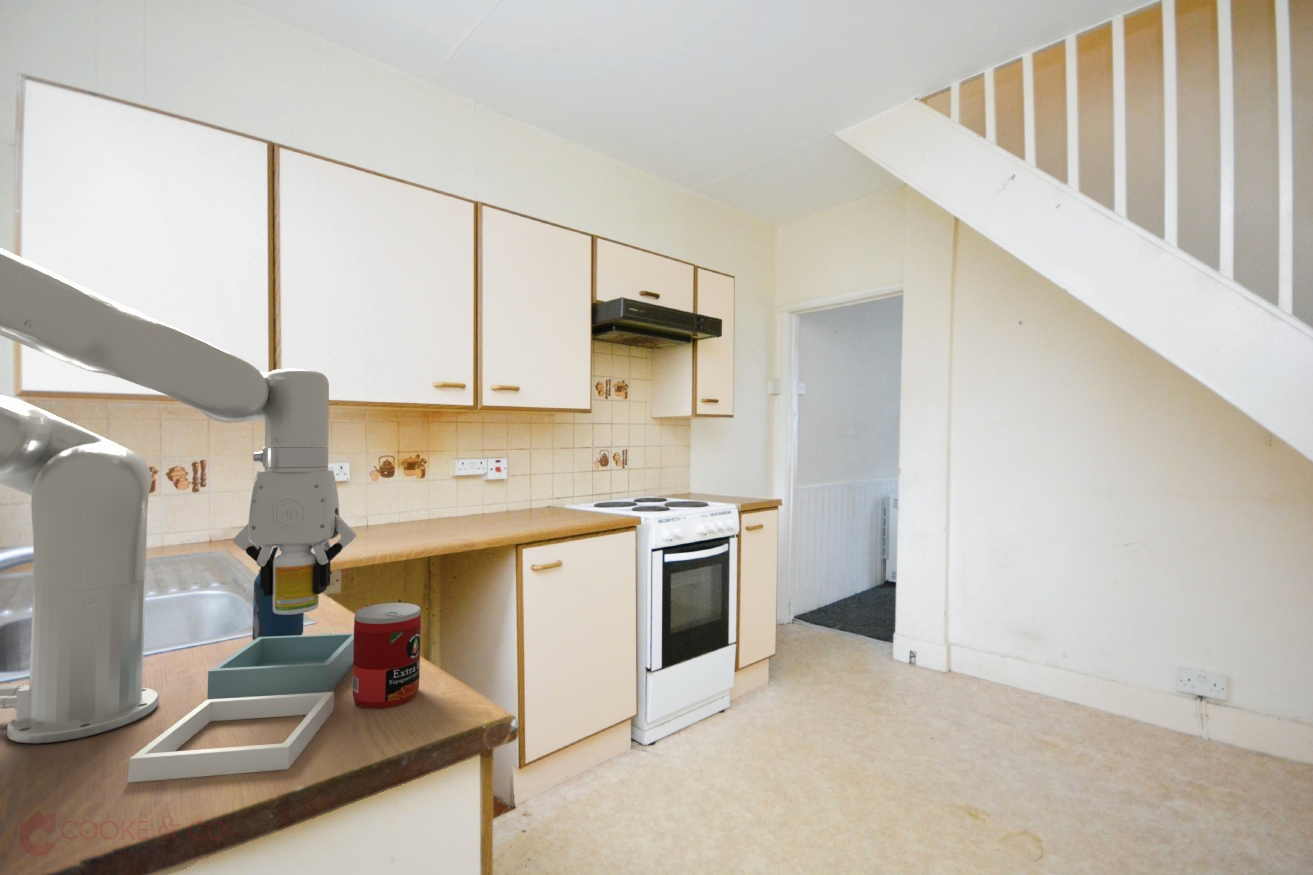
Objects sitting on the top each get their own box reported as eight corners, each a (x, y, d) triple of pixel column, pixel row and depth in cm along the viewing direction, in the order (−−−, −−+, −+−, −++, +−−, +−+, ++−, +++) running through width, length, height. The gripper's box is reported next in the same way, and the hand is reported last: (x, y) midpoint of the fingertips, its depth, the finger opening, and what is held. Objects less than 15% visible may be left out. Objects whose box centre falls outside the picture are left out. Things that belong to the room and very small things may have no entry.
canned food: (395, 712, 72) (397, 620, 72) (337, 706, 73) (339, 615, 74) (431, 688, 79) (433, 604, 80) (378, 682, 81) (380, 600, 81)
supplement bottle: (324, 609, 82) (325, 538, 82) (279, 617, 78) (280, 543, 78) (310, 602, 86) (311, 534, 86) (267, 610, 82) (267, 538, 82)
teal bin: (207, 703, 73) (208, 670, 74) (257, 664, 87) (258, 636, 87) (328, 696, 76) (328, 664, 76) (358, 659, 89) (359, 632, 90)
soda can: (312, 637, 99) (314, 565, 100) (280, 651, 93) (282, 573, 93) (275, 635, 100) (277, 563, 101) (241, 648, 94) (243, 571, 94)
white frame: (128, 782, 56) (129, 758, 56) (206, 718, 70) (206, 699, 70) (288, 769, 59) (288, 746, 59) (333, 710, 72) (334, 691, 72)
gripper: (212, 461, 77) (210, 603, 77) (356, 461, 80) (355, 596, 80) (240, 460, 84) (239, 589, 84) (371, 459, 88) (370, 584, 87)
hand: (295, 591), depth 82 cm, fingers closed on supplement bottle, 5 cm apart
